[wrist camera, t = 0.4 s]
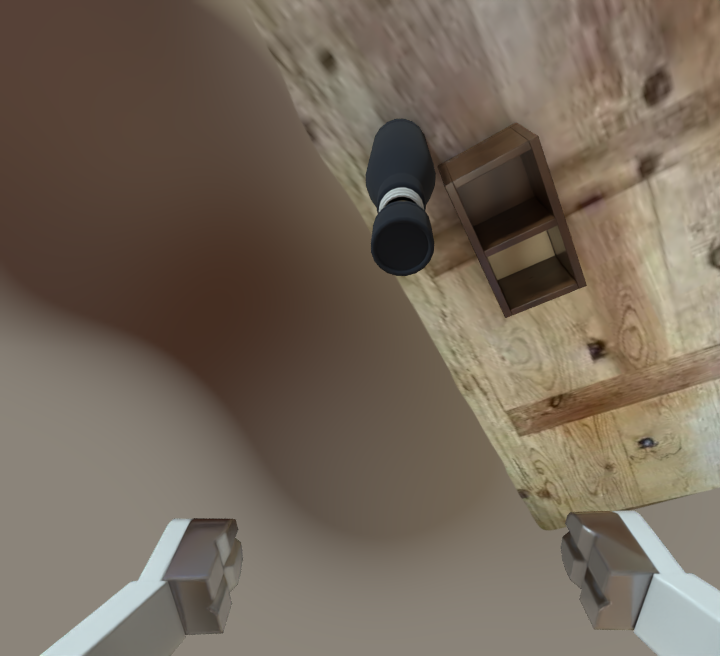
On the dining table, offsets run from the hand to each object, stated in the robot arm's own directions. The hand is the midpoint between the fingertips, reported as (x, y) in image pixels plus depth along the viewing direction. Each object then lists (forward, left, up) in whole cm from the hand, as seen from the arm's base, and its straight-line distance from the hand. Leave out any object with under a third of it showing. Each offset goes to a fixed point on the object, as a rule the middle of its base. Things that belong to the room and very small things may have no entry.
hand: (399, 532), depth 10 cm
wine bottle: (0, 0, -48) cm, 48 cm away
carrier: (-8, +14, -48) cm, 51 cm away
